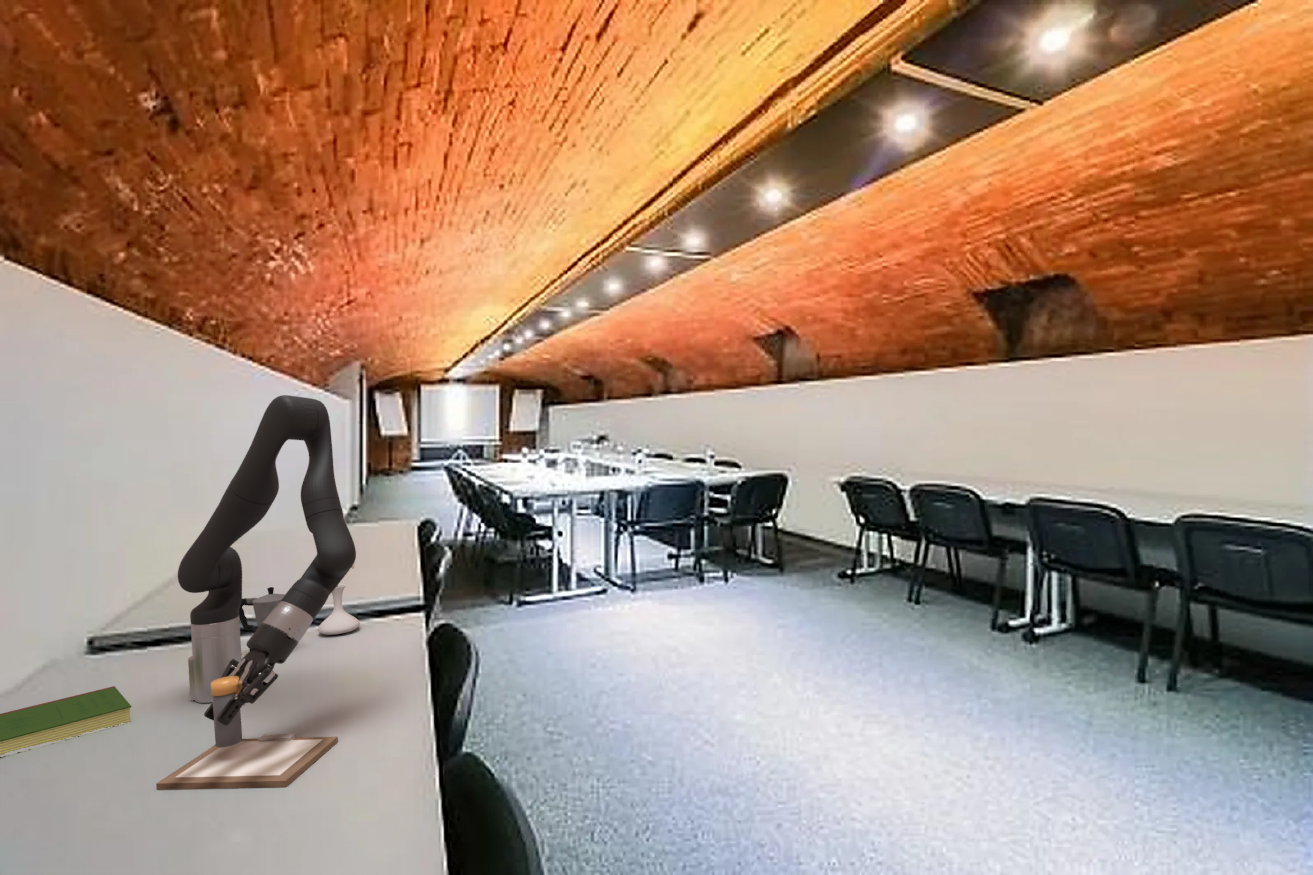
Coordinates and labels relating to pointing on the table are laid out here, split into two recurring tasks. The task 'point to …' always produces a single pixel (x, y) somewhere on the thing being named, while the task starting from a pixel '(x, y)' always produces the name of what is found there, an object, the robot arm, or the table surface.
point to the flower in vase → (338, 616)
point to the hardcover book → (62, 719)
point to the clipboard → (250, 763)
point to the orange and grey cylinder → (221, 696)
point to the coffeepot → (260, 607)
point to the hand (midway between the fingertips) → (215, 720)
